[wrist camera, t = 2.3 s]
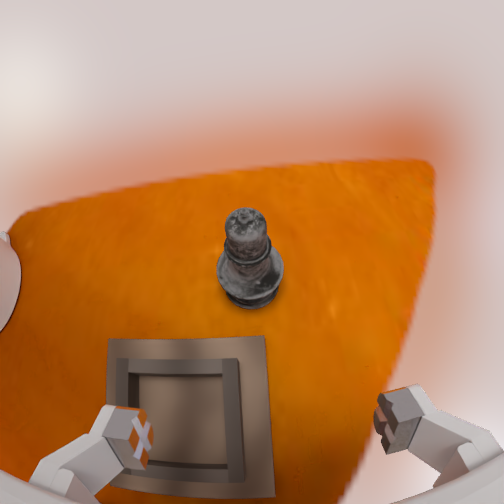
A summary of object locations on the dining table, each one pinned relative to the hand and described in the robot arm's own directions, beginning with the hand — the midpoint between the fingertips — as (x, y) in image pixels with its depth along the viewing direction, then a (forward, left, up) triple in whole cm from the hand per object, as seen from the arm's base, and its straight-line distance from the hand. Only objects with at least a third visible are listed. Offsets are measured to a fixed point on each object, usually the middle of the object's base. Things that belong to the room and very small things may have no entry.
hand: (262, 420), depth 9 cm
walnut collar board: (-7, -1, -17) cm, 18 cm away
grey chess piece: (0, +12, -17) cm, 21 cm away
